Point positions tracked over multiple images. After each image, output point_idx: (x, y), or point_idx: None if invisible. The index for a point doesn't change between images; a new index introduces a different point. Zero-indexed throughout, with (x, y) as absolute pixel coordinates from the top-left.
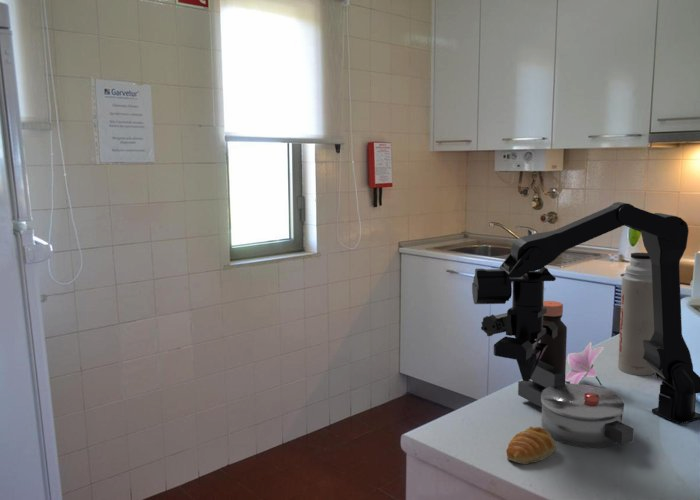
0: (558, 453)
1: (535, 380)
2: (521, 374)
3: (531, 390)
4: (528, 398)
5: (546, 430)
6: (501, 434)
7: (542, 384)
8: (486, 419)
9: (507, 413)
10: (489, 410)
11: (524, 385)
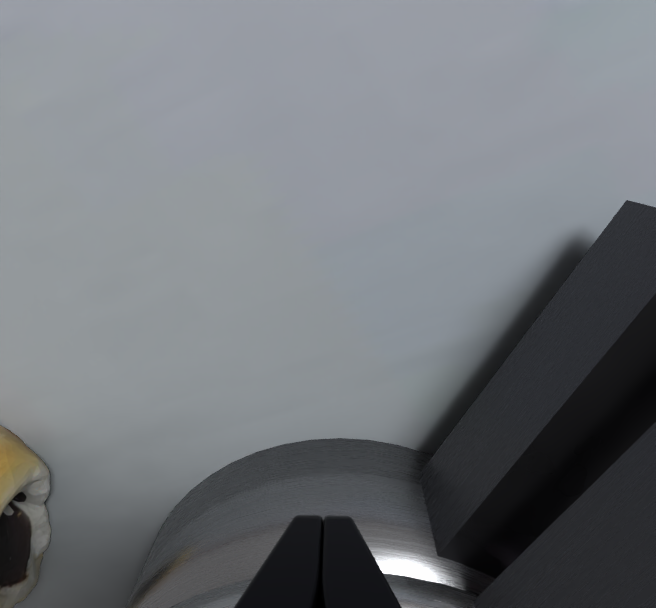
0: None
1: (639, 461)
2: (253, 581)
3: (563, 378)
4: (551, 313)
5: (180, 509)
6: (8, 296)
7: (557, 536)
8: (139, 116)
9: (327, 211)
10: (303, 65)
11: (639, 302)
